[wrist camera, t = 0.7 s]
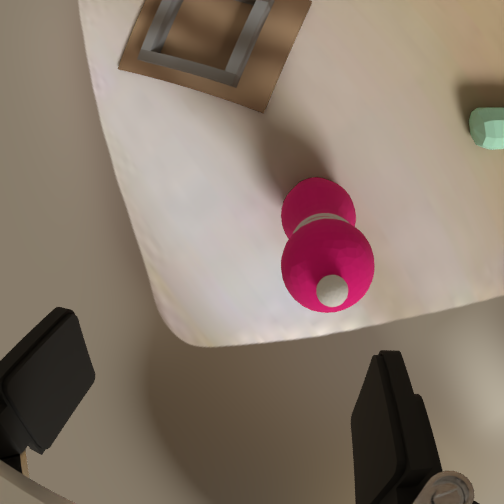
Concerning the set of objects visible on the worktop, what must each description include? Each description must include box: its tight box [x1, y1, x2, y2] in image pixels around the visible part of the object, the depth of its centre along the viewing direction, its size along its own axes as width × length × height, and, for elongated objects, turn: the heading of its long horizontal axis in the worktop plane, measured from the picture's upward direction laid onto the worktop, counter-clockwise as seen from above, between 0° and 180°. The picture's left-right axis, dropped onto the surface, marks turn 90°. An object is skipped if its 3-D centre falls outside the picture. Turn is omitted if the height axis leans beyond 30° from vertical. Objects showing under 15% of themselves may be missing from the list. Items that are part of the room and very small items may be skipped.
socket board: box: [118, 0, 312, 113], centre depth 27 cm, size 14×18×3 cm
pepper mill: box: [281, 177, 374, 313], centre depth 26 cm, size 7×7×20 cm
